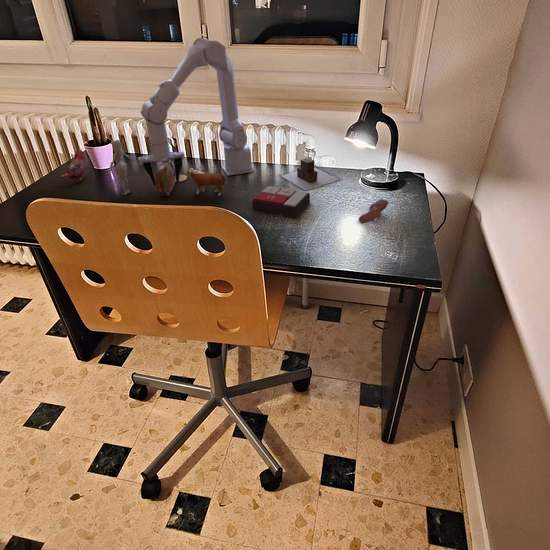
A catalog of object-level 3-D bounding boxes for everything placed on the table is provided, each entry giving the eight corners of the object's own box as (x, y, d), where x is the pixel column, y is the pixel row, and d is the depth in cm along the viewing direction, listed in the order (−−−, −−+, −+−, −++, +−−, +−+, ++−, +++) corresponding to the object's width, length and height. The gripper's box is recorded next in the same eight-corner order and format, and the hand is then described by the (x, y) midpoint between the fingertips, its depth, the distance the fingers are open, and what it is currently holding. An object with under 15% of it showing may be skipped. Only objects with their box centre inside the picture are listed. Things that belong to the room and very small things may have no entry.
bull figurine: (191, 188, 144) (188, 165, 139) (227, 192, 141) (225, 169, 136) (185, 193, 140) (182, 170, 136) (222, 198, 137) (220, 174, 132)
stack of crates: (339, 179, 148) (341, 160, 144) (305, 190, 141) (306, 171, 137) (313, 166, 158) (313, 148, 154) (280, 175, 151) (280, 157, 147)
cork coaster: (185, 174, 153) (185, 173, 153) (188, 180, 149) (188, 179, 148) (169, 177, 152) (168, 175, 151) (171, 183, 147) (171, 182, 147)
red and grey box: (267, 184, 136) (310, 190, 131) (268, 196, 139) (310, 203, 133) (250, 198, 129) (295, 205, 123) (252, 210, 131) (296, 218, 125)
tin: (167, 200, 137) (162, 175, 132) (157, 200, 137) (152, 175, 132) (176, 181, 149) (173, 157, 144) (168, 181, 149) (163, 158, 144)
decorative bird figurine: (93, 173, 155) (85, 146, 149) (69, 194, 141) (60, 166, 135) (85, 173, 155) (77, 146, 149) (61, 194, 141) (51, 165, 135)
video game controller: (368, 230, 122) (382, 214, 117) (356, 220, 123) (369, 204, 118) (381, 216, 129) (394, 200, 124) (369, 207, 129) (381, 191, 124)
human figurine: (135, 185, 146) (123, 133, 135) (143, 187, 144) (132, 135, 134) (110, 200, 137) (96, 145, 126) (119, 202, 136) (105, 147, 125)
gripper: (136, 148, 128) (145, 190, 136) (184, 143, 132) (189, 183, 140) (134, 141, 133) (143, 181, 141) (180, 136, 137) (186, 175, 145)
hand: (166, 182), depth 141 cm, fingers open, 7 cm apart
